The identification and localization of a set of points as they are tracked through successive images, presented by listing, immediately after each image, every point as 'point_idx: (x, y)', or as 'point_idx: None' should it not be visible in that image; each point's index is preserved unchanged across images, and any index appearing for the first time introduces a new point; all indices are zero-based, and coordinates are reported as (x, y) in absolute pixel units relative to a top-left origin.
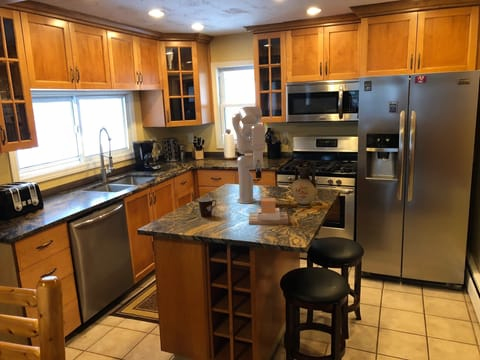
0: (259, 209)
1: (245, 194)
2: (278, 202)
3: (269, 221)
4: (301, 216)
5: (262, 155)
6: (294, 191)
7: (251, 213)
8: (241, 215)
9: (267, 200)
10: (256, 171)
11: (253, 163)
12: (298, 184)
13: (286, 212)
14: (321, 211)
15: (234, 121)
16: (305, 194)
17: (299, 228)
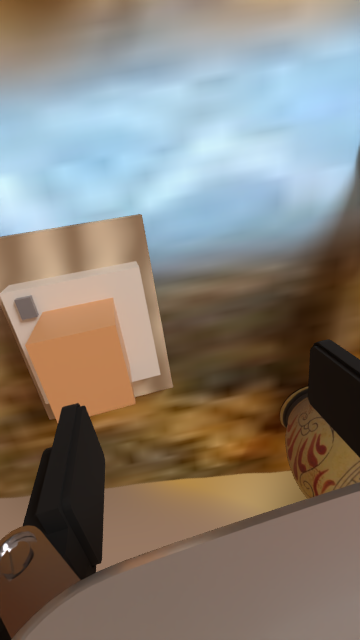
0: (119, 285)
1: None
2: (356, 311)
3: (20, 345)
4: (163, 428)
5: None
6: (323, 431)
7: (127, 229)
8: (142, 160)
9: (61, 378)
10: (4, 541)
11: (357, 619)
12: (345, 478)
13: (168, 387)
14: (229, 468)
15: None
16: (293, 466)
17: (3, 455)
